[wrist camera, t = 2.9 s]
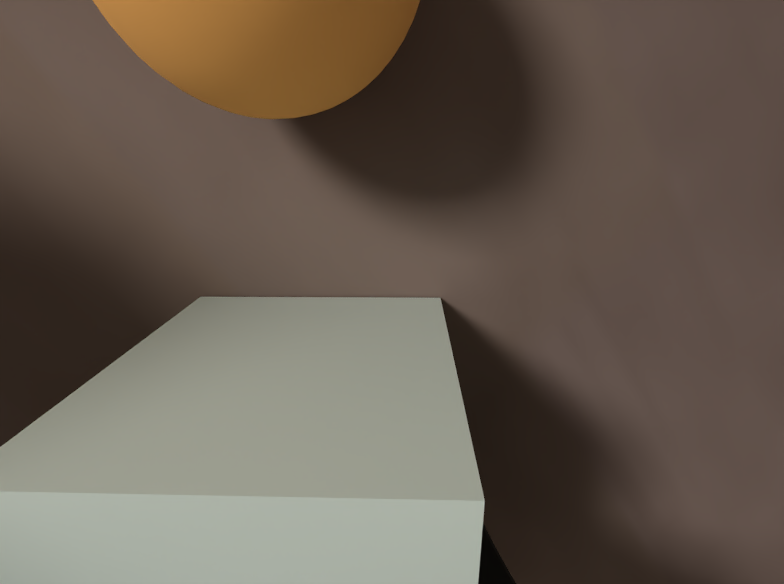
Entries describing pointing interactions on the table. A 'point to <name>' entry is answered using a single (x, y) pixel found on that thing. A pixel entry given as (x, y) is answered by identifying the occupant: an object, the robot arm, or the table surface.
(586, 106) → the table surface
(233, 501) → the mint green block
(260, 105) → the ball
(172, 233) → the table surface
